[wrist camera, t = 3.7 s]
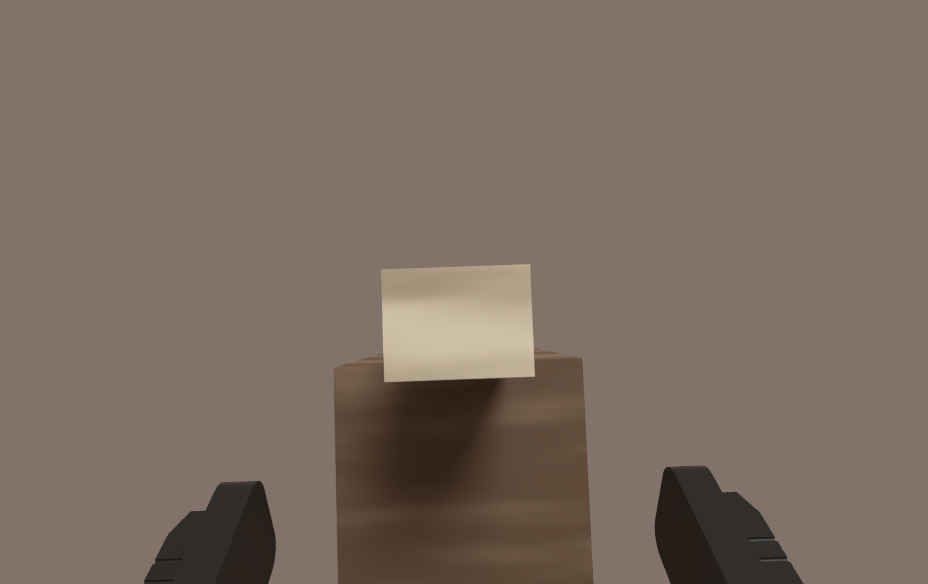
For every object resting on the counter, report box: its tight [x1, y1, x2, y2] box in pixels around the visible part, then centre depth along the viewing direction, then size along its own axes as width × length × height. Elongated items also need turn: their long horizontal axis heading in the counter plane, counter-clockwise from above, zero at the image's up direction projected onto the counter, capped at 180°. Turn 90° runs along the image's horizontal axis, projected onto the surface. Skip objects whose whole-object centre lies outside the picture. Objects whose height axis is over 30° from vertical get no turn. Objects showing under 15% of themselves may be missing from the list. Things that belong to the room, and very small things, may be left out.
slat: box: [381, 264, 535, 382], centre depth 27 cm, size 22×4×3 cm, turn 1°
